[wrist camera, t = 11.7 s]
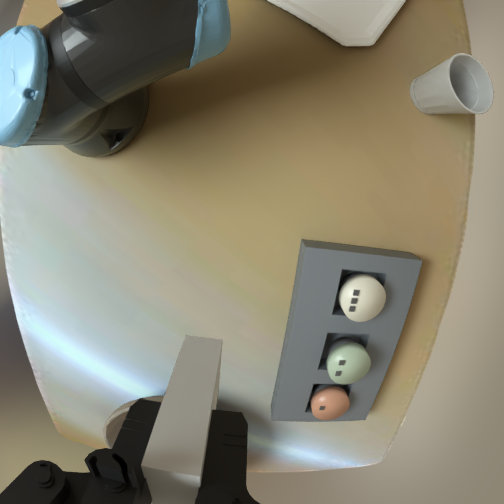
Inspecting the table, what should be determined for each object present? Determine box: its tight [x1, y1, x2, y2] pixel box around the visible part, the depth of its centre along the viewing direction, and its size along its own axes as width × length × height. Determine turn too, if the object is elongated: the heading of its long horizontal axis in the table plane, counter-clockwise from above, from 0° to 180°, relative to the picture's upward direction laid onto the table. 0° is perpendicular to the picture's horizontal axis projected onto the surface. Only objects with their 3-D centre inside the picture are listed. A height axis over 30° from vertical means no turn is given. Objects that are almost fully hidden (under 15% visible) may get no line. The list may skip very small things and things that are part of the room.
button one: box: [311, 384, 350, 420], centre depth 48 cm, size 6×6×5 cm
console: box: [271, 239, 422, 422], centre depth 47 cm, size 18×32×4 cm, turn 174°
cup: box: [410, 53, 494, 115], centre depth 32 cm, size 8×8×12 cm
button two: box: [326, 337, 371, 384], centre depth 44 cm, size 6×6×5 cm
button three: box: [339, 272, 386, 322], centre depth 42 cm, size 6×6×5 cm
